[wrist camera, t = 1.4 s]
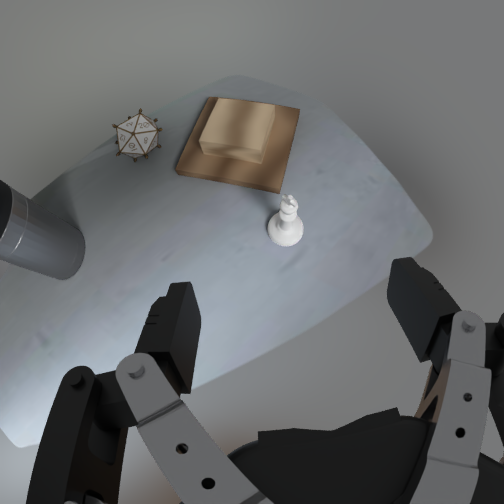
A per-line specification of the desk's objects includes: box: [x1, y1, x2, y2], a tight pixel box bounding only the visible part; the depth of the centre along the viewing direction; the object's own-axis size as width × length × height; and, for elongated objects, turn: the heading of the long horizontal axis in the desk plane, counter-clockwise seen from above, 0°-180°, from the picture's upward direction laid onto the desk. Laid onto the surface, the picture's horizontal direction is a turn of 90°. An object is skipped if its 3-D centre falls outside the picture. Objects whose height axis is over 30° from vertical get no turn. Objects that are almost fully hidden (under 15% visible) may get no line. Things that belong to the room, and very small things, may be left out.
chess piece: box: [267, 194, 303, 246], centre depth 34 cm, size 5×5×10 cm
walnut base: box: [175, 97, 300, 194], centre depth 41 cm, size 16×16×5 cm
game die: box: [113, 109, 162, 162], centre depth 41 cm, size 9×8×10 cm
